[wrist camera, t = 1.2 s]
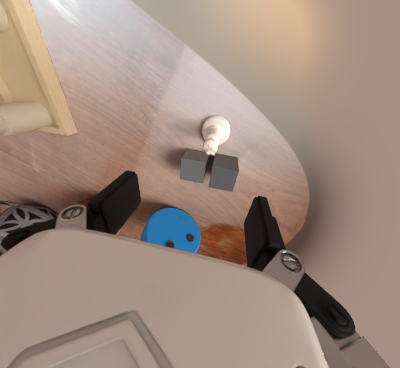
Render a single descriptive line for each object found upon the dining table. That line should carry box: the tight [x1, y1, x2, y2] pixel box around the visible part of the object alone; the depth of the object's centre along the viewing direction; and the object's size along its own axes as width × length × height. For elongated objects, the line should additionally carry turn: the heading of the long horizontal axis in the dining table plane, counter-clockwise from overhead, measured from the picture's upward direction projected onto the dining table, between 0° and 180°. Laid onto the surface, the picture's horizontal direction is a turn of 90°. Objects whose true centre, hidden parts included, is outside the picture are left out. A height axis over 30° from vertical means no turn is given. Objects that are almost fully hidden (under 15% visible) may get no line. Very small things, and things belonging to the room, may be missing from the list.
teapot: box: [0, 201, 58, 243], centre depth 49 cm, size 19×31×15 cm, turn 12°
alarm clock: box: [140, 208, 201, 253], centre depth 35 cm, size 13×6×15 cm, turn 63°
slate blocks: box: [180, 149, 239, 192], centre depth 28 cm, size 4×10×5 cm, turn 84°
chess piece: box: [202, 116, 230, 155], centre depth 23 cm, size 5×5×10 cm
